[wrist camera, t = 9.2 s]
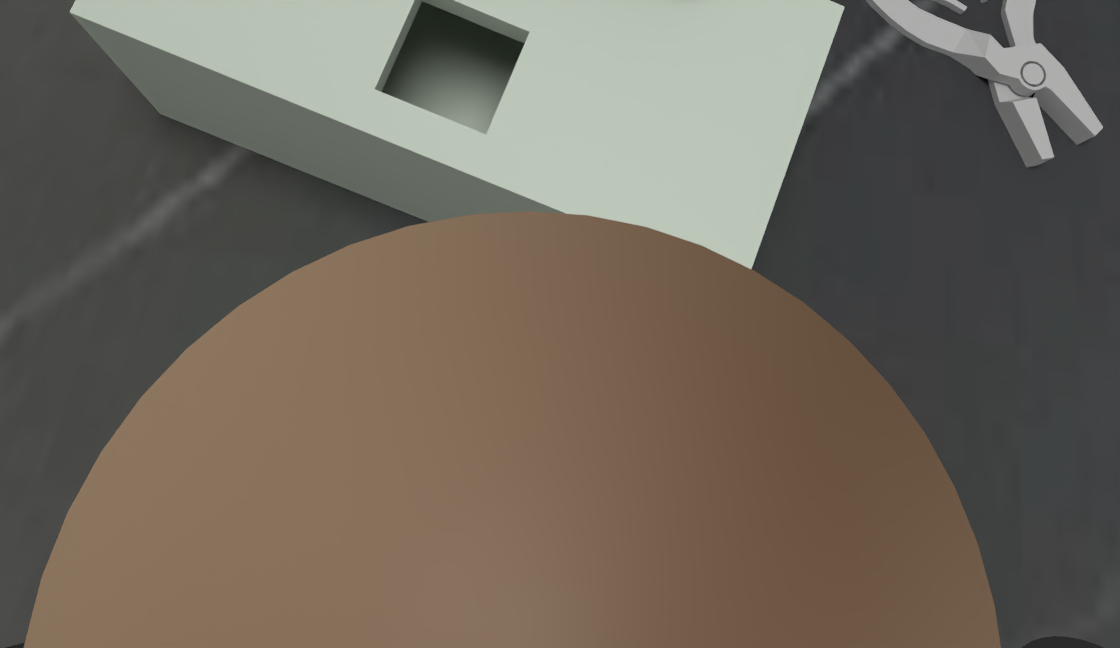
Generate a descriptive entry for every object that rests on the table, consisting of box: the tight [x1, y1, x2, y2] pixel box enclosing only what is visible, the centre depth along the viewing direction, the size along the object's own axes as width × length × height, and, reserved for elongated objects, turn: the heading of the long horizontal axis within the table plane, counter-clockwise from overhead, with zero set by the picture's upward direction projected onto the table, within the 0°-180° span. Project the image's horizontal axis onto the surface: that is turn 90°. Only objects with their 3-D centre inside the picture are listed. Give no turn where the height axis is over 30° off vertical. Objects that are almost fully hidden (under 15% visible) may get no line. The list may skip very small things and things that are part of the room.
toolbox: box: [70, 0, 844, 269], centre depth 34 cm, size 24×11×12 cm, turn 69°
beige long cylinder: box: [24, 211, 1001, 648], centre depth 13 cm, size 4×4×19 cm
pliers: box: [866, 0, 1103, 167], centre depth 43 cm, size 10×2×15 cm
